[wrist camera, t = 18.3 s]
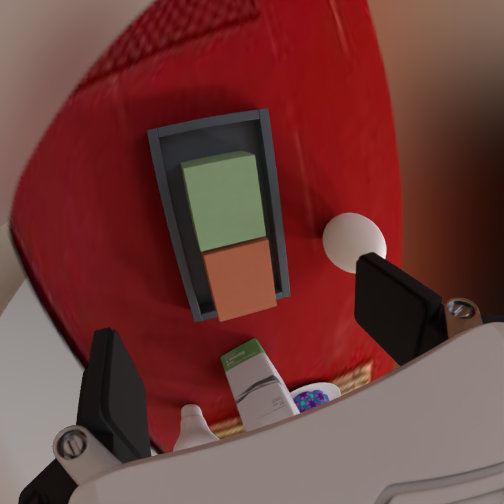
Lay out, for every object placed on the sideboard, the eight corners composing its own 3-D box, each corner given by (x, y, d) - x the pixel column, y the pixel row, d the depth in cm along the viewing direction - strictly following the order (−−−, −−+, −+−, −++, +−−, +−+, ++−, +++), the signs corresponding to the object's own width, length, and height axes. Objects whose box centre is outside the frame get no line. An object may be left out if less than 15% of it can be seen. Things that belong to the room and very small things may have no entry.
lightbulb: (220, 394, 36) (242, 465, 26) (204, 421, 38) (221, 488, 28) (173, 386, 34) (185, 463, 24) (161, 416, 35) (170, 487, 26)
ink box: (217, 355, 34) (244, 440, 23) (257, 335, 34) (296, 415, 23) (248, 394, 38) (278, 468, 27) (282, 376, 38) (320, 447, 27)
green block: (195, 234, 27) (200, 251, 23) (180, 162, 24) (182, 168, 21) (252, 220, 28) (266, 236, 24) (241, 150, 25) (254, 154, 22)
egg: (360, 238, 33) (405, 268, 26) (320, 263, 32) (359, 299, 26) (347, 196, 30) (396, 218, 24) (303, 220, 30) (344, 250, 23)
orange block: (212, 298, 30) (219, 322, 26) (197, 237, 27) (203, 255, 24) (263, 284, 31) (276, 306, 27) (254, 224, 28) (268, 239, 25)
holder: (192, 310, 30) (194, 322, 29) (147, 130, 23) (146, 130, 21) (283, 286, 32) (290, 296, 30) (260, 109, 25) (268, 108, 23)
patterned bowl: (315, 428, 46) (327, 451, 41) (252, 431, 41) (262, 458, 37) (351, 379, 43) (369, 402, 38) (285, 377, 38) (301, 405, 33)
